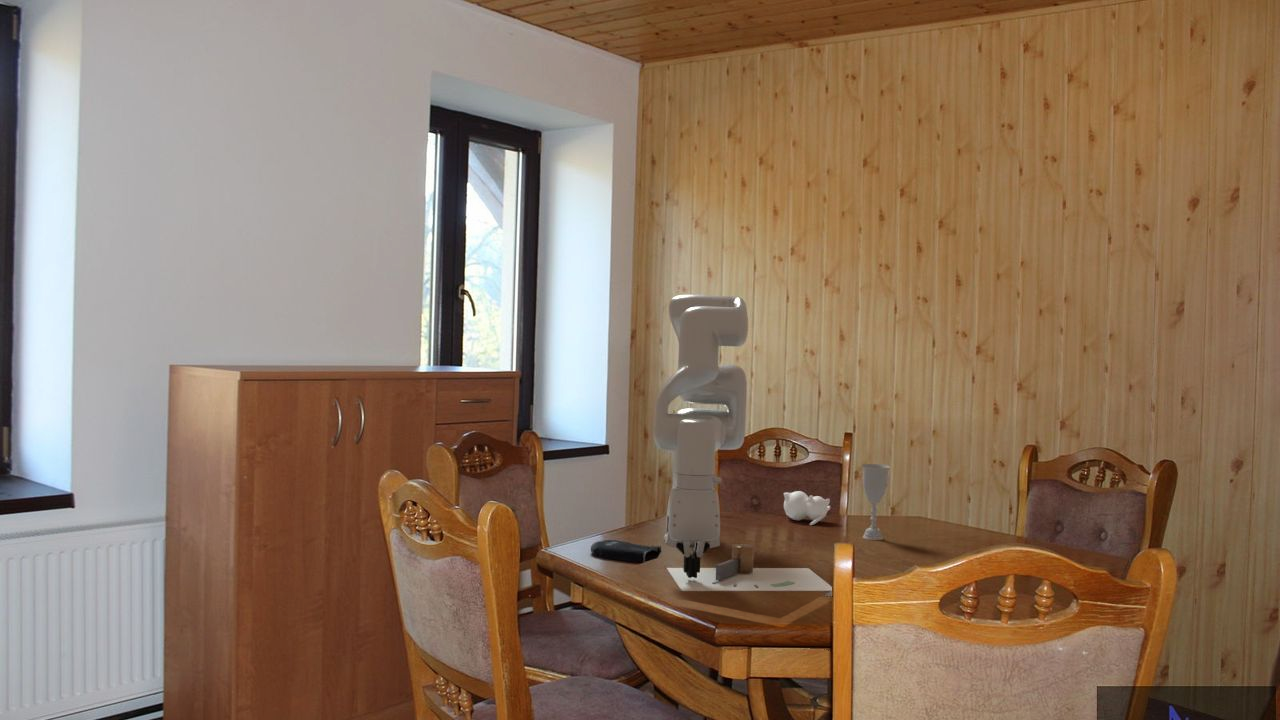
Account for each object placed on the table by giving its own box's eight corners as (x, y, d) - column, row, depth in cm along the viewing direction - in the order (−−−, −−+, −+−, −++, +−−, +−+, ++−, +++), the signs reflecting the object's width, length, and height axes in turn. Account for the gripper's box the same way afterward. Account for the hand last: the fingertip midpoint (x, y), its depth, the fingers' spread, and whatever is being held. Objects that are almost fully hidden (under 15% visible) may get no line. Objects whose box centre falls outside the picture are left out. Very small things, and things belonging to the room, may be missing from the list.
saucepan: (737, 567, 208) (738, 542, 207) (756, 570, 205) (757, 546, 205) (707, 578, 197) (708, 553, 197) (728, 582, 194) (728, 556, 194)
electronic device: (661, 563, 222) (602, 546, 229) (664, 540, 221) (605, 523, 227) (643, 578, 214) (582, 559, 220) (645, 553, 213) (584, 535, 219)
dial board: (666, 573, 206) (666, 567, 206) (808, 573, 210) (808, 567, 210) (681, 597, 188) (681, 589, 188) (836, 596, 192) (836, 589, 192)
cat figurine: (830, 487, 269) (786, 482, 274) (820, 513, 261) (775, 507, 266) (832, 512, 273) (789, 506, 278) (822, 539, 266) (778, 532, 270)
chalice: (893, 540, 248) (896, 467, 248) (869, 541, 246) (872, 468, 245) (875, 534, 255) (878, 463, 255) (852, 535, 253) (855, 464, 252)
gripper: (728, 480, 200) (724, 571, 201) (653, 479, 198) (650, 571, 199) (736, 486, 193) (733, 581, 193) (659, 485, 191) (656, 581, 191)
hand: (691, 576), depth 196 cm, fingers closed
